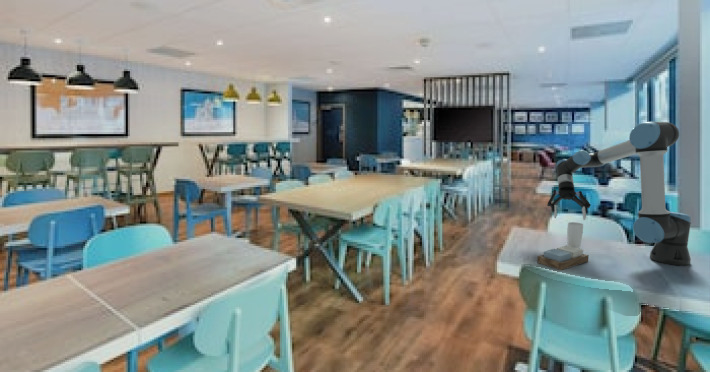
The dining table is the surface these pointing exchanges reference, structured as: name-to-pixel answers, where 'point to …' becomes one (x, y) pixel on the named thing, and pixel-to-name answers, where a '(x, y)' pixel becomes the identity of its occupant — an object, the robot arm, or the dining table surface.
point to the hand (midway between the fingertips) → (570, 217)
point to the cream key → (572, 251)
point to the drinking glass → (574, 234)
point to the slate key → (557, 255)
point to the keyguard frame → (563, 264)
